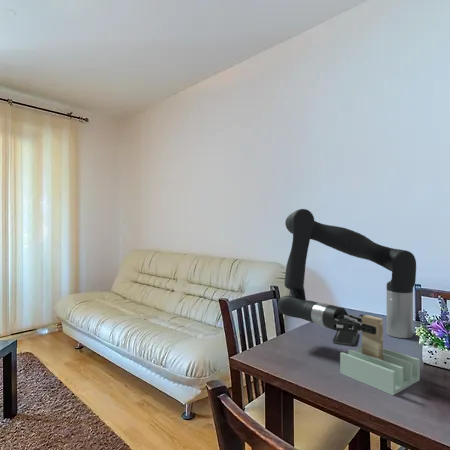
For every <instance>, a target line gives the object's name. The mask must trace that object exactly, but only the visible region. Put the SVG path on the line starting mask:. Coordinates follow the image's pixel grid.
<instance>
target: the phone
mask: <svg viewBox="0 0 450 450" xmlns="http://www.w3.org/2000/svg"><path fill="white" fill-rule="evenodd" d="M358 336H359V331H358V332H357V333H355V332H348V331H336V333H335V334H334V337H333V338H332V344H334V345H342V346H349V347H355V346H356V345H357V342H358Z"/></svg>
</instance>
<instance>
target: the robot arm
mask: <svg viewBox="0 0 450 450" xmlns="http://www.w3.org/2000/svg"><path fill="white" fill-rule="evenodd" d="M285 227H286V229H287V231H288V232H289V233H290V234H292V241H291V243H292V244H291V248H290V252H289V255H288V258H287V262H286V266H285V267H286V268H285V275H284V287H285V288H286V289H288V290H289V291H290V295H283V296H281V297H280V298H279V299H278V301H277V309H278V310H279V312H280V313H281V314H282V315H283V316H287V317H291V318H296V319H302V320H303V321H304V320H305V321H307V322H309V323H314V324H316V325H318V326H321V327H323V328H326V329H329V330H333V331H336V332H337V331H348V332H355V333H357V332H358V333H359V332H360V333H362V332H367V333H370V334H373V335H374V334H376V327H374V326H371V325H367V324H363V323H362V316H365V315H364V314H359V316H357V315H355V314H352V313H349V314H348V312H347V310H346V309H345V308H344V307H342V306H338V305H334V304H330V303H329V304H328V303H322V302H318V301H314V300H307V299H306V291H305V286H304V285H305V277H306V276H305V275H306V265H307V257H308V251H309V245H310V242H311V241H310V240H313V241H315V242H318V243H320V244H323V245H324V246H327V247H329V248H331V249H334V250H336V251H339V252H340V253H343V254H346V255H348V256H351V257H355V258H358V259H363V260H366V261H370V262H372V263H375V264H377V265H378V266H380V267H382V268H384V269H386V270H388V271H389V272H391V279H390V281H388V282H387V283H386V334H387V335H388V336H390V337H394V338H399V339H411V338H413V336H414V287H415V285H416V277H417V260H416V256H415V255H414V253H412V252H411V251H409V250H406V249H405V250H404V249H399V248H392V247H389V246H384V245H383V244H382V245H381V244H379V243H376V242H374V241H373V240H372V239H370V238H368V237H367V236H366V235H364V234H361V233H360V232H357V231H354V230H352V229H350V228H346V227H341V226H336V225H329V224H324V223H321V222H318V221H315V216H314V214H313V213H312V212H311V211H310V210H308V209H307V208H306V209H305V208H300V209H296V210H295V211H293V212H292V213H290V214H288V216H287V217H286V218H285Z"/></svg>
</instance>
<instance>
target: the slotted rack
mask: <svg viewBox="0 0 450 450" xmlns="http://www.w3.org/2000/svg"><path fill="white" fill-rule="evenodd" d="M347 351H348V352H347V353H346V352H339V358H340V359H339V361H340V362H339V365H340V366H339V367H340V368H339V369H340V370H339V371H340V372H339V373H340V374H341V375H344V376H346V377H349V378H350V379H353V380H356V381H357V382H360V383H363V384H365V385H367V386H370V387H373V388H375V389H377V390H380V391H381V392H384V393H387V394H389V395H391V396H395V395H397V394H398V393H400V392H402V391H403V390H405V389H408V388H409V387H410V386H412V385H414V384H415V383H418V382H419V381H420V378H421V376H420V374H421V373H420V372H421V371H420V367H421V365H420V364H421V362H420V361H421V359H420V358H417V357H414V356H411V355H408V354H405V353H401V352H398V351H395V350H392V349H388V348H385V347H383V360H380V359H378V358H375V357H372V356H369V355H366V354H363V353H362V345H358V346H357V350H353V349H351V348H350V349H348V350H347Z"/></svg>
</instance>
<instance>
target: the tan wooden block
mask: <svg viewBox="0 0 450 450" xmlns="http://www.w3.org/2000/svg"><path fill="white" fill-rule="evenodd" d="M362 323H363V324H367V325H371V326H374V327H376V334H374V335H373V334H370V333H367V332H361V333H362V334H361V341H362V343H361V346H362V353H363V354H366V355H369V356H372V357H375V358H378V359H380V360H383V348H384V319H383V318H380V317H377V316H374V315H373V316H372V315H369V314H366V315H364V316H362Z"/></svg>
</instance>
